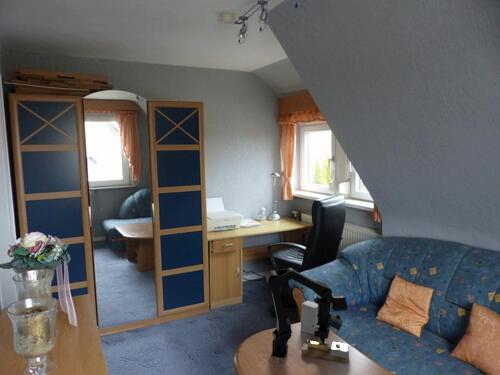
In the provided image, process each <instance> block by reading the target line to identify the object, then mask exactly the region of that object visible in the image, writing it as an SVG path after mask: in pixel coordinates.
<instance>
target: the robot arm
mask: <svg viewBox="0 0 500 375" xmlns="http://www.w3.org/2000/svg"><path fill="white" fill-rule="evenodd" d="M265 279H266V281H267V284H268V286H269V289H270V291H271V295H272V300H273V306H274V309H275V314H276V328H275V329H274V330H273V331H272V333H271V334H272V338H273V339H272V342H271V343H272V344H271V345H272V347H271V349H272V350H271V354H270V356H272V357H278V358H281V359H282V358H283V359H285V358H286V356H287V355H288V352H289V344H288V342H289V340H290V339H291V338H292V334H293V332H294V331H292V324H291V322H290V320H289V318H287V319H286V315H285V310H284V306H283V305H284V304H283V300H282V294H281V289H282V288H281V286H282V285H283V284H286V282H288V281H291V280H293V281H294V282H296V283H298V284H301V285H302V286H304V287H306V288H307V289H310V290H311V291H313V292H314V293H315V294H316V295H317V296H316V297H315V298H313V302H314V303H316V304H318V313H317V317H318V321H317V325H318V326H317V328H315V331H314V335H313V336H314V337H315V338H319V339H320V343H321V342H322V343H326V342H325V341H326V339H329V334H330V331H331V327H332V328H333V329H335V330H337V331H340V330H341V328H342V326H343V319H341V318H342V317H341V315H340V314H336V315H332V312H331V310H333V312H347V311H348V302H347V300H346V296H345V295H340V296H339V295H337V296H334V294H333V290H332V289H331V287H329V285H328V284H327V283H325V282H321V281H317V280H314V279H311V278H310V277H308V276H306V275H304V274H302V273H301V272H299V271H297V270H296V269H294V268H292V267H288V268H283V269H277V270H269V271H268V272H267V273H266V275H265Z"/></svg>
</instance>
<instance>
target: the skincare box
mask: <svg viewBox="0 0 500 375" xmlns="http://www.w3.org/2000/svg"><path fill="white" fill-rule="evenodd" d="M317 313H318V304H316V303H315V302H314V301H312V300H311V301H310V300H306V301H304V302H302V303H301V316H300V318H301V319H300V331H303V332H304V333H308V334H310V335H313V336H314V331H315V328H317V326H318V325H317V321H318V317H317Z"/></svg>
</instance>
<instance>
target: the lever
mask: <svg viewBox="0 0 500 375" xmlns="http://www.w3.org/2000/svg"><path fill="white" fill-rule="evenodd" d="M304 342H305V344H308V348H314V349H320V350H325V351H328V350H329V344H326V343H327V342H324V343H321V341H320V342H318V341H313V340H311V339H310V338H306V339H304Z"/></svg>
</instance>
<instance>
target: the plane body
mask: <svg viewBox="0 0 500 375" xmlns="http://www.w3.org/2000/svg"><path fill="white" fill-rule="evenodd" d="M300 353H301V356H303V357H309V358H315V359H320V360H324V361H331V362H336V363H341V364H346V365H349V359H350V350H348V355H347V358H344V357H338V356H333V355H331V348H329V350H328V351H325V350H320V349H314V348H308V343H306V342H305V343H303V344H302V347H301V352H300Z"/></svg>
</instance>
